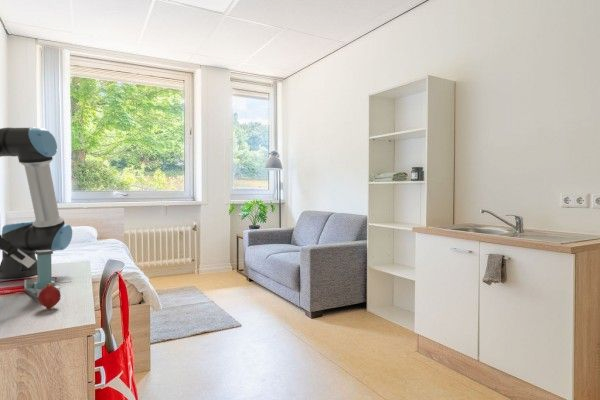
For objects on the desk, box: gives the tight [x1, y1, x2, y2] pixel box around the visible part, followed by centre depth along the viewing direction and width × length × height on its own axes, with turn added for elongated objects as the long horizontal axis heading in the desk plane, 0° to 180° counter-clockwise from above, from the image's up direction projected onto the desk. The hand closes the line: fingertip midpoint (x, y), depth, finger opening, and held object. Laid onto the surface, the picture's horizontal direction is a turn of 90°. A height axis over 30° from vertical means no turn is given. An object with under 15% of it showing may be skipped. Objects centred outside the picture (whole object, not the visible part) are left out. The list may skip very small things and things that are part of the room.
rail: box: [23, 277, 61, 303], centre depth 132 cm, size 22×6×4 cm, turn 47°
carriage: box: [34, 250, 56, 291], centre depth 129 cm, size 4×5×13 cm
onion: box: [37, 283, 62, 310], centre depth 116 cm, size 6×6×8 cm
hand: (27, 262), depth 125 cm, fingers open, 13 cm apart
